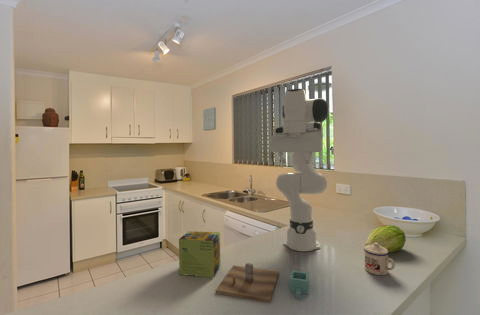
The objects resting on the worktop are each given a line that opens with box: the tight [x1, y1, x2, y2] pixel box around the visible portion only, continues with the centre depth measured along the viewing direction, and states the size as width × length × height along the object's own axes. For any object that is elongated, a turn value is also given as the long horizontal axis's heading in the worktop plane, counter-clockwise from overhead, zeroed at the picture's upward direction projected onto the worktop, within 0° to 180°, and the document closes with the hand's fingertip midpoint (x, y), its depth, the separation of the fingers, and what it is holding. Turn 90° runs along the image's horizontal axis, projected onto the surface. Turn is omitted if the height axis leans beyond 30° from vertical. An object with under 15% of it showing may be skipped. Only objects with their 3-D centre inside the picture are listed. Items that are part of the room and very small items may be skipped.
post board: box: [215, 262, 280, 303], centre depth 98 cm, size 20×20×7 cm
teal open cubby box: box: [289, 270, 310, 300], centre depth 92 cm, size 10×7×5 cm, turn 162°
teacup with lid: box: [363, 243, 396, 276], centre depth 104 cm, size 12×9×12 cm
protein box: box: [178, 230, 221, 278], centre depth 108 cm, size 10×15×16 cm
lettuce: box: [364, 224, 407, 253], centre depth 125 cm, size 13×22×14 cm
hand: (295, 163), depth 101 cm, fingers open, 8 cm apart
